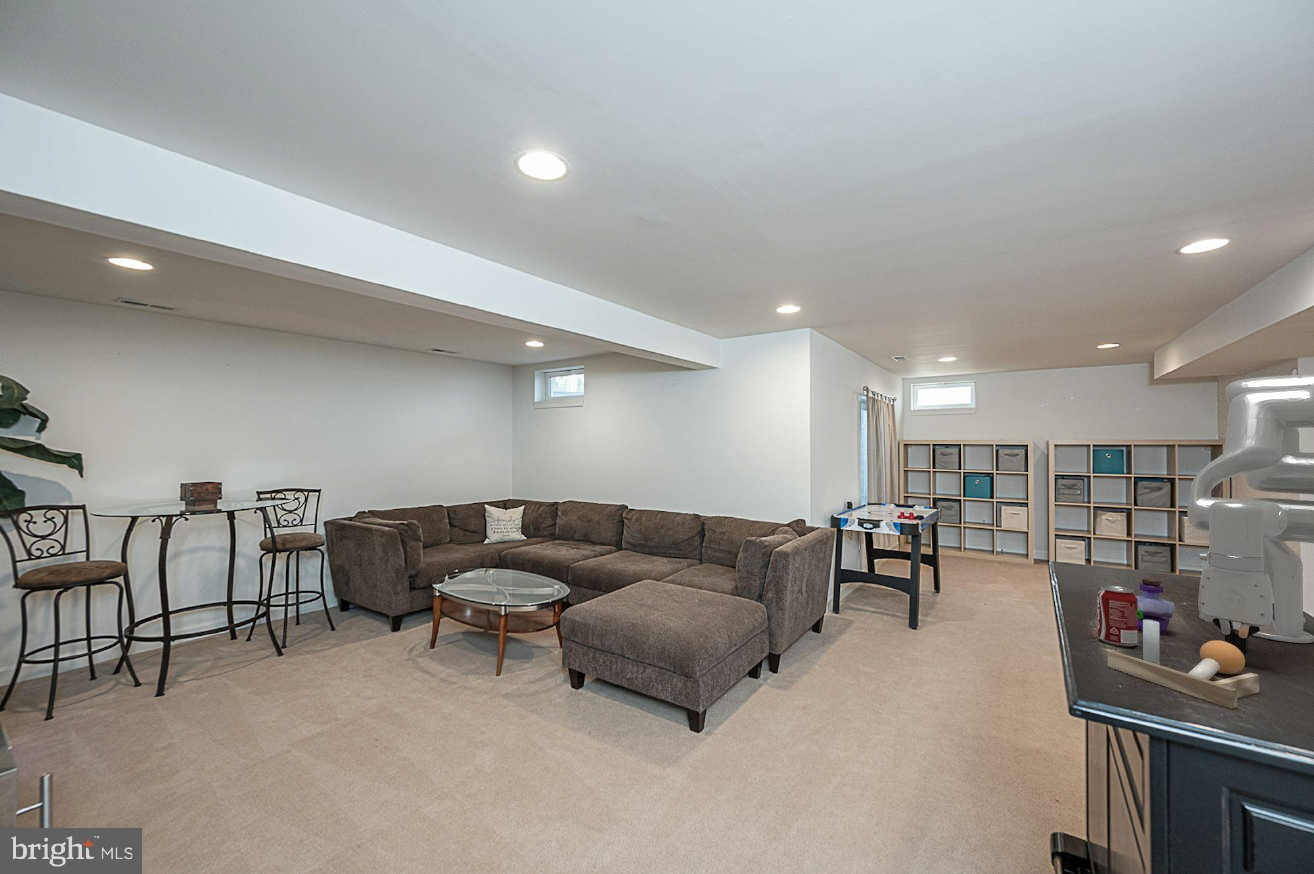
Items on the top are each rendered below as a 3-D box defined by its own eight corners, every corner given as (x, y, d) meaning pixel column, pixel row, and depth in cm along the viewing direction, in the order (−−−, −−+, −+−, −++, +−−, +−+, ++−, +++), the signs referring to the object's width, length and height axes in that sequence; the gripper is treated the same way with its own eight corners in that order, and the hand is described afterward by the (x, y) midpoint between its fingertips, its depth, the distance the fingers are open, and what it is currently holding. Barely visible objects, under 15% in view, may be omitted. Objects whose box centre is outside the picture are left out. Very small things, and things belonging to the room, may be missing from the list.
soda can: (1145, 649, 115) (1145, 593, 115) (1109, 647, 116) (1108, 591, 117) (1125, 639, 122) (1124, 585, 122) (1090, 636, 123) (1090, 583, 123)
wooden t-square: (1149, 658, 110) (1149, 643, 110) (1275, 696, 93) (1275, 679, 93) (1107, 666, 105) (1107, 651, 106) (1232, 708, 89) (1231, 690, 89)
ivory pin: (1203, 655, 102) (1186, 670, 98) (1220, 662, 100) (1204, 677, 96) (1201, 667, 102) (1184, 682, 98) (1218, 673, 100) (1202, 689, 96)
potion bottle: (1119, 627, 130) (1119, 576, 130) (1137, 622, 134) (1137, 573, 134) (1166, 638, 122) (1165, 585, 123) (1183, 633, 126) (1183, 581, 126)
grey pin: (1147, 661, 108) (1147, 618, 109) (1162, 666, 106) (1162, 622, 106) (1140, 663, 108) (1140, 620, 108) (1155, 667, 105) (1154, 623, 105)
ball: (1195, 661, 103) (1203, 675, 106) (1241, 668, 98) (1248, 683, 101) (1196, 632, 106) (1204, 646, 108) (1240, 637, 101) (1248, 652, 103)
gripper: (1179, 558, 114) (1179, 646, 113) (1286, 572, 101) (1287, 672, 100) (1192, 555, 117) (1192, 640, 117) (1297, 568, 104) (1298, 664, 104)
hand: (1236, 654), depth 109 cm, fingers closed
